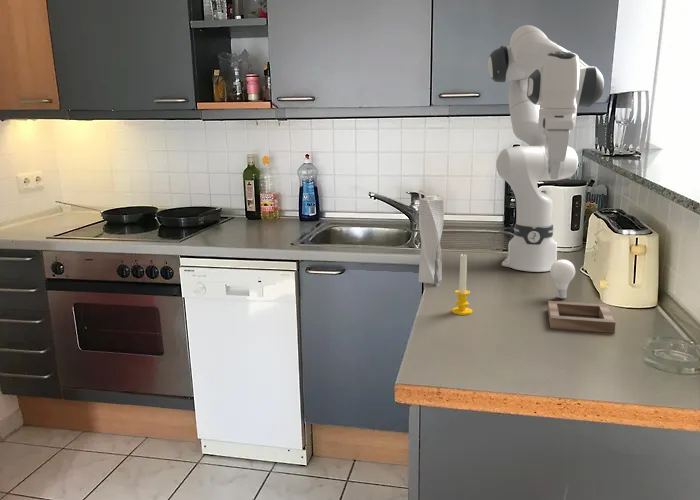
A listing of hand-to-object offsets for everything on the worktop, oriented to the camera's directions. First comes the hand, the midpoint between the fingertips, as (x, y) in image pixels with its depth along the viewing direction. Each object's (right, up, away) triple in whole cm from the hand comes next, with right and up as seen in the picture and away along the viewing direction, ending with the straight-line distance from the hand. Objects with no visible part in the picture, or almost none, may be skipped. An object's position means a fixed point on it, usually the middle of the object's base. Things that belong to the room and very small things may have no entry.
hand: (552, 176), depth 152 cm
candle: (-23, -35, +2) cm, 41 cm away
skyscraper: (-27, -29, +29) cm, 49 cm away
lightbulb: (+6, -32, +12) cm, 35 cm away
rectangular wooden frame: (+4, -36, -6) cm, 37 cm away
